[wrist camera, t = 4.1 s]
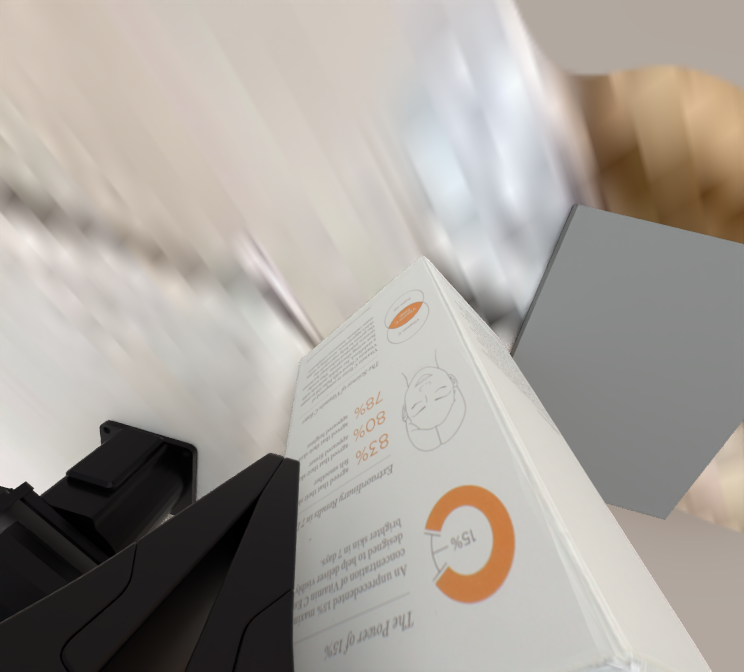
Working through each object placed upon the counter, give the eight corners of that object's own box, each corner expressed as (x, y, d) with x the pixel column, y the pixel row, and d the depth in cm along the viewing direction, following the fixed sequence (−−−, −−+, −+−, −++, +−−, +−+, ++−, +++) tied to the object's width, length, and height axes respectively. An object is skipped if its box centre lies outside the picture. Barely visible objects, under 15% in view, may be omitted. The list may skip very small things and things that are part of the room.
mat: (659, 512, 20) (664, 519, 19) (466, 457, 20) (467, 463, 20) (845, 269, 14) (859, 271, 14) (573, 204, 15) (578, 204, 14)
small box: (382, 420, 20) (422, 784, 10) (296, 359, 18) (217, 780, 7) (504, 337, 18) (752, 724, 7) (424, 248, 15) (636, 672, 4)
